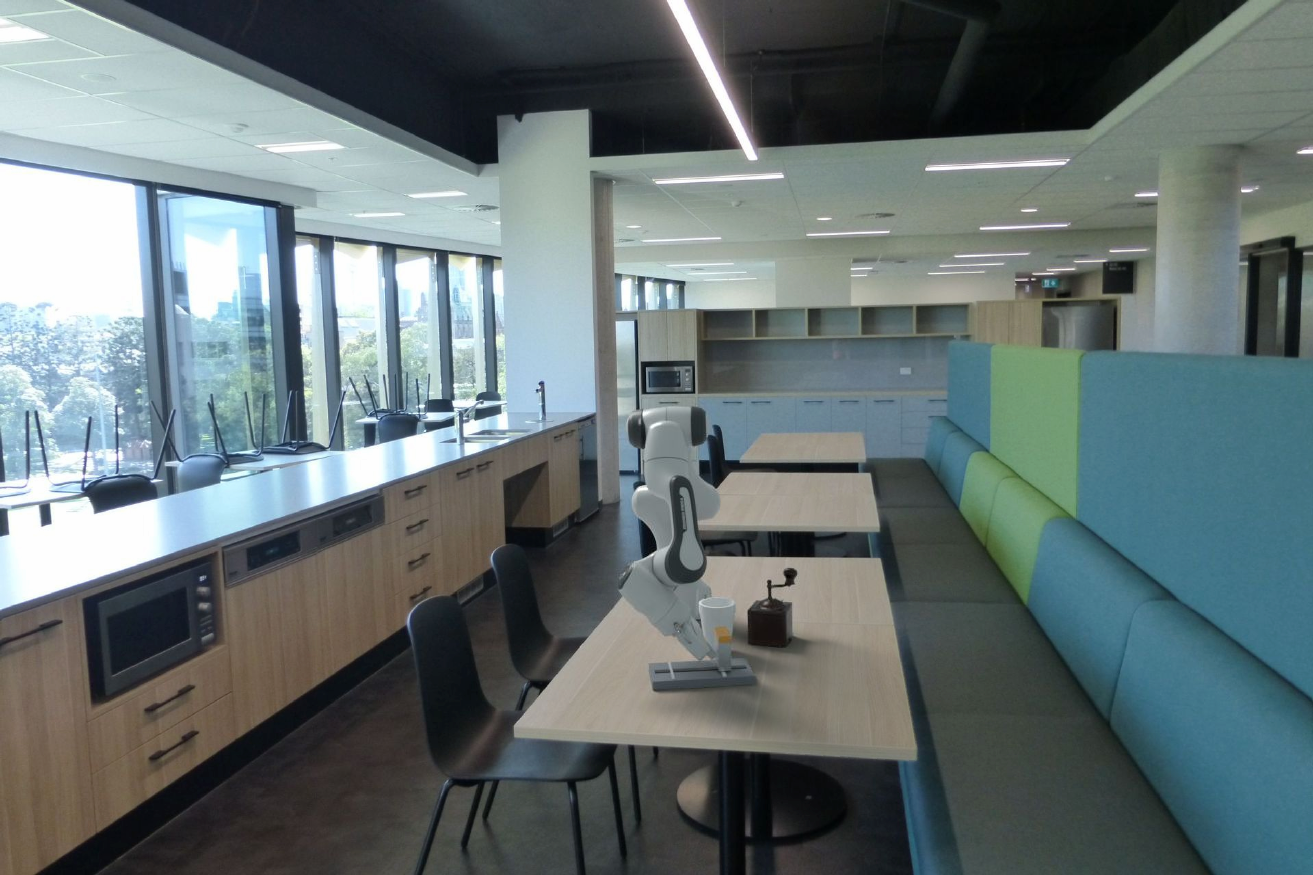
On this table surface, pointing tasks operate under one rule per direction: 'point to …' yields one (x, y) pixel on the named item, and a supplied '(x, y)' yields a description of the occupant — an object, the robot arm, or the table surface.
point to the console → (699, 674)
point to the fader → (722, 648)
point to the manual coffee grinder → (772, 617)
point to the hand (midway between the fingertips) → (714, 655)
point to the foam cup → (716, 616)
